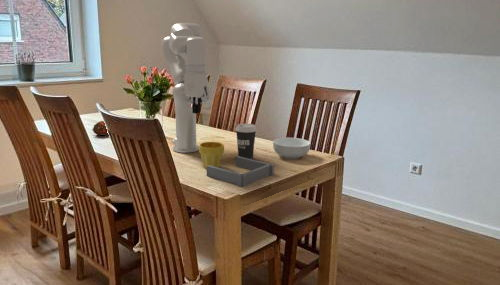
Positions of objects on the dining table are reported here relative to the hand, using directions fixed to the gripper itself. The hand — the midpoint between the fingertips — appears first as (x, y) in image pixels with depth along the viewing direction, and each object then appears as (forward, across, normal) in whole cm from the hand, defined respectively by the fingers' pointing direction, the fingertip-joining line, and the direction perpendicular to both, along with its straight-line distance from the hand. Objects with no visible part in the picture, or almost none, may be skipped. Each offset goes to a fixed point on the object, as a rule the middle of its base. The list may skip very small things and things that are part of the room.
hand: (196, 112), depth 184 cm
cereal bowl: (+22, +26, +35) cm, 49 cm away
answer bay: (+21, +24, -1) cm, 32 cm away
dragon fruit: (+24, -74, +3) cm, 77 cm away
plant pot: (+22, +9, -1) cm, 24 cm away
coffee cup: (+22, +12, +19) cm, 32 cm away
